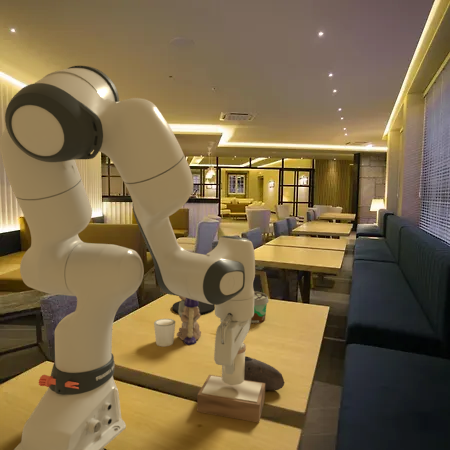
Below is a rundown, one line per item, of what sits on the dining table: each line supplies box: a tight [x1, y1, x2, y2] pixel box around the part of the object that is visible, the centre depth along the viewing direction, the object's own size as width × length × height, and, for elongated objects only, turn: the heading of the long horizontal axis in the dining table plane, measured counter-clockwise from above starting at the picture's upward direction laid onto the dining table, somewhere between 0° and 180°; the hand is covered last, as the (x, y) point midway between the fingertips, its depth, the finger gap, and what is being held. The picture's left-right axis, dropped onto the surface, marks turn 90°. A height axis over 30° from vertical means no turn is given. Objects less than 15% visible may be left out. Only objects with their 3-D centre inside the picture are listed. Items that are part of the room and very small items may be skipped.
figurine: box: [176, 296, 202, 341], centre depth 118 cm, size 9×8×20 cm
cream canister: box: [221, 342, 247, 385], centre depth 80 cm, size 5×5×8 cm
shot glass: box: [153, 318, 176, 347], centre depth 114 cm, size 7×7×7 cm
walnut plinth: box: [196, 374, 266, 423], centre depth 81 cm, size 9×14×4 cm, turn 76°
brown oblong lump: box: [244, 355, 285, 391], centre depth 89 cm, size 15×5×7 cm, turn 64°
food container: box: [251, 290, 269, 324], centre depth 135 cm, size 12×6×10 cm, turn 171°
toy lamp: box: [183, 298, 199, 346], centre depth 114 cm, size 5×5×17 cm
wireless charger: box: [172, 300, 215, 316], centre depth 148 cm, size 18×18×2 cm
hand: (233, 365), depth 80 cm, fingers closed on cream canister, 5 cm apart
